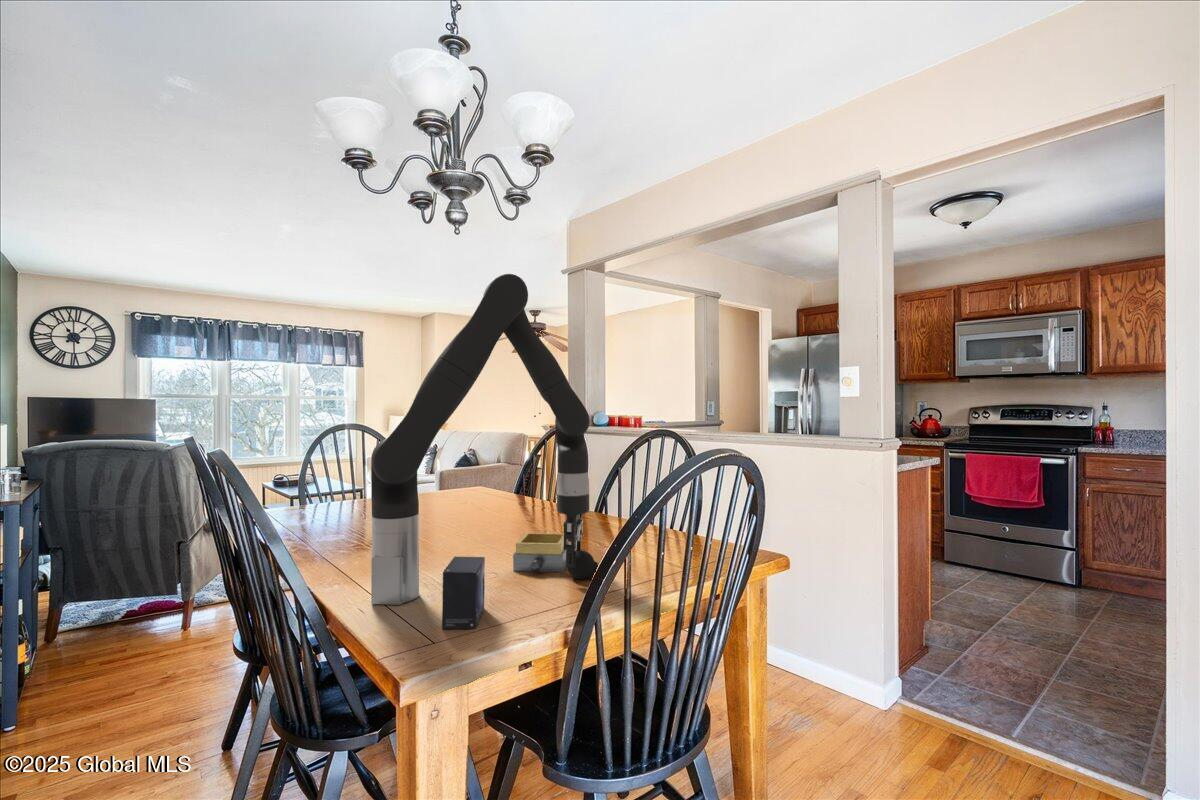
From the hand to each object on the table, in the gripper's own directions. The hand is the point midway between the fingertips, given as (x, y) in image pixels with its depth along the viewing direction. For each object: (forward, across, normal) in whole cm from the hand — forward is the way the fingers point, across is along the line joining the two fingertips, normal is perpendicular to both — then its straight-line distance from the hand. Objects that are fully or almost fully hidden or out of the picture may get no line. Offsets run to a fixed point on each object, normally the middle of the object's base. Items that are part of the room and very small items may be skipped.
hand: (573, 561), depth 132 cm
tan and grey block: (+4, +8, +9) cm, 13 cm away
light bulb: (+4, 0, -3) cm, 5 cm away
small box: (+4, -26, +17) cm, 31 cm away
